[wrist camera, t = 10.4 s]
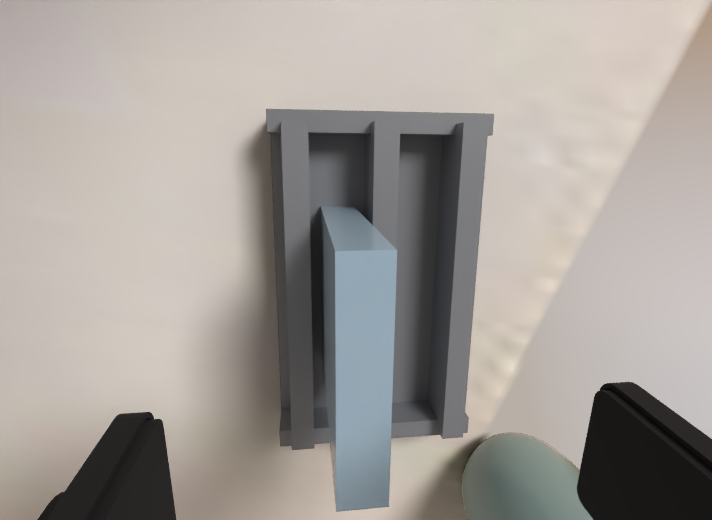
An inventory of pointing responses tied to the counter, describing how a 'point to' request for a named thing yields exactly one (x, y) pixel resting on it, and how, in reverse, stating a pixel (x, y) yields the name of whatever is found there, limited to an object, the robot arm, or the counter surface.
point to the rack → (403, 230)
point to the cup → (520, 481)
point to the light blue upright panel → (358, 354)
